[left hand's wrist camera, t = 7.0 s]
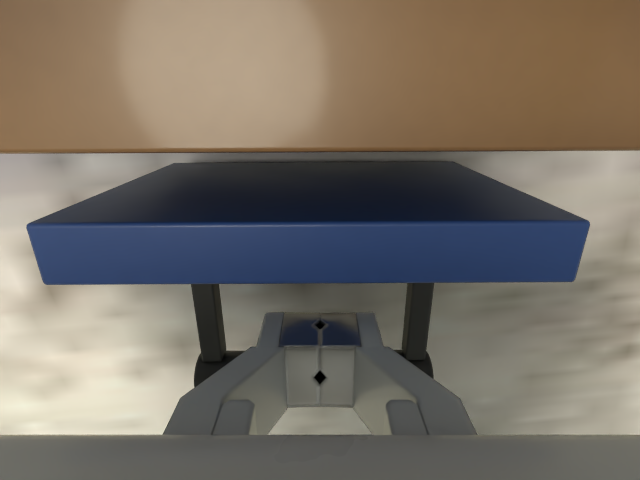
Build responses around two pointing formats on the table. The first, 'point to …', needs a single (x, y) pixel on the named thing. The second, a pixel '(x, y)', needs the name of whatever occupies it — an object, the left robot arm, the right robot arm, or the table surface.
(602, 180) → the table surface
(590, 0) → the cabinet
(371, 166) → the drawer
